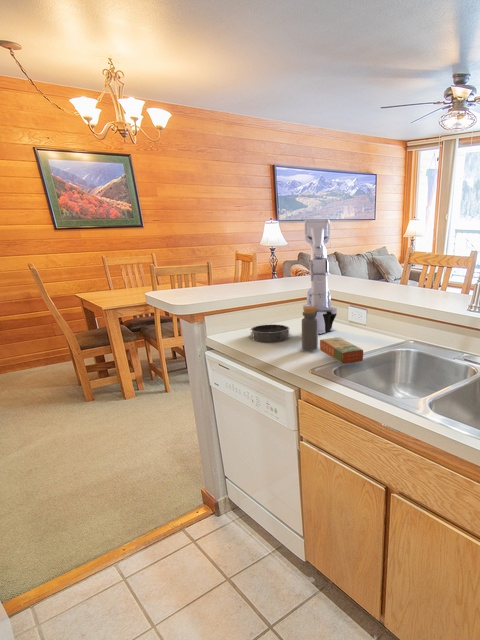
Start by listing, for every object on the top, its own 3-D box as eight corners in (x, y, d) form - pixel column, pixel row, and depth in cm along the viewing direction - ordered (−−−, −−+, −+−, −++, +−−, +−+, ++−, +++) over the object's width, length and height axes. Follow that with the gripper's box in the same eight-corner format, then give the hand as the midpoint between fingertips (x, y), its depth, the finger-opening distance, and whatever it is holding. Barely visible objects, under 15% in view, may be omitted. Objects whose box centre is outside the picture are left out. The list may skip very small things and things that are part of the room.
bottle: (318, 346, 154) (319, 306, 148) (316, 350, 149) (316, 309, 142) (303, 345, 154) (303, 305, 148) (300, 349, 149) (299, 308, 143)
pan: (271, 332, 176) (270, 322, 174) (297, 337, 167) (296, 327, 166) (243, 339, 165) (242, 329, 163) (269, 344, 156) (269, 334, 155)
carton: (339, 347, 149) (340, 336, 148) (363, 361, 137) (364, 349, 135) (319, 350, 145) (319, 339, 144) (342, 364, 133) (342, 352, 131)
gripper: (297, 293, 150) (298, 330, 155) (328, 297, 142) (328, 335, 147) (310, 291, 155) (311, 327, 160) (340, 294, 147) (340, 332, 152)
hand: (320, 330), depth 154 cm, fingers open, 7 cm apart
